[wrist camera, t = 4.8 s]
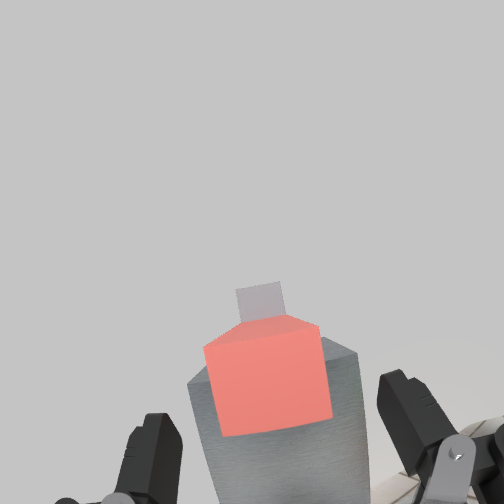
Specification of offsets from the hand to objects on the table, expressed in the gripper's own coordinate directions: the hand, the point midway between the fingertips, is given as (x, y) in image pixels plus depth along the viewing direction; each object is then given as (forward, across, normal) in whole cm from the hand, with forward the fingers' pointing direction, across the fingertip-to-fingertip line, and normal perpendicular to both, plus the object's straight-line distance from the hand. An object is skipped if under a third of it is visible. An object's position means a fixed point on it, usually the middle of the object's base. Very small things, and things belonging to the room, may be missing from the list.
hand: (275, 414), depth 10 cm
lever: (+10, 0, +6) cm, 12 cm away
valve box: (-3, 0, +36) cm, 36 cm away
